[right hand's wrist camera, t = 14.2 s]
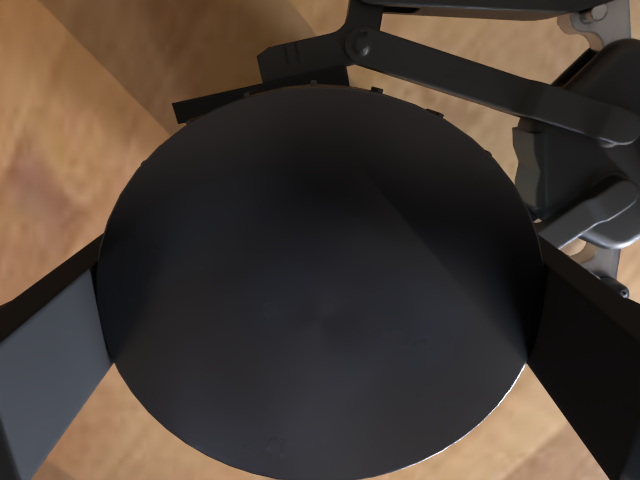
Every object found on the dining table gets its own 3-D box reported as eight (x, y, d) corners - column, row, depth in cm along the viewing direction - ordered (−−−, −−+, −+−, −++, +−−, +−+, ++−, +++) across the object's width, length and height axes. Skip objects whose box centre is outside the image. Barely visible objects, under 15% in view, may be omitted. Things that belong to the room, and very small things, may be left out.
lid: (184, 453, 14) (166, 504, 12) (66, 121, 10) (18, 131, 9) (514, 413, 13) (542, 460, 12) (515, 46, 10) (555, 39, 8)
